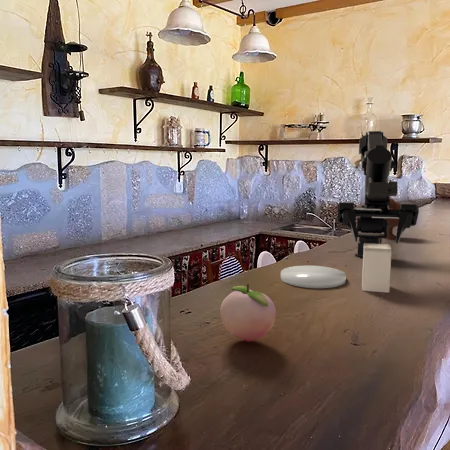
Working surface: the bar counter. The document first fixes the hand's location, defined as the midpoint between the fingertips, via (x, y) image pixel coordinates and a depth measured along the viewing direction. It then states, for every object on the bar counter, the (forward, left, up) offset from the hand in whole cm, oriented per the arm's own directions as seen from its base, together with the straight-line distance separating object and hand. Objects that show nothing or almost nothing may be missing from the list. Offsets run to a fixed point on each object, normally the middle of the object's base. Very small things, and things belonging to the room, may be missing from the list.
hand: (376, 241), depth 106 cm
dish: (+10, -11, -10) cm, 18 cm away
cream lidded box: (+2, +2, -10) cm, 11 cm away
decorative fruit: (+44, +15, -11) cm, 48 cm away
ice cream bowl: (-51, -43, -11) cm, 67 cm away
